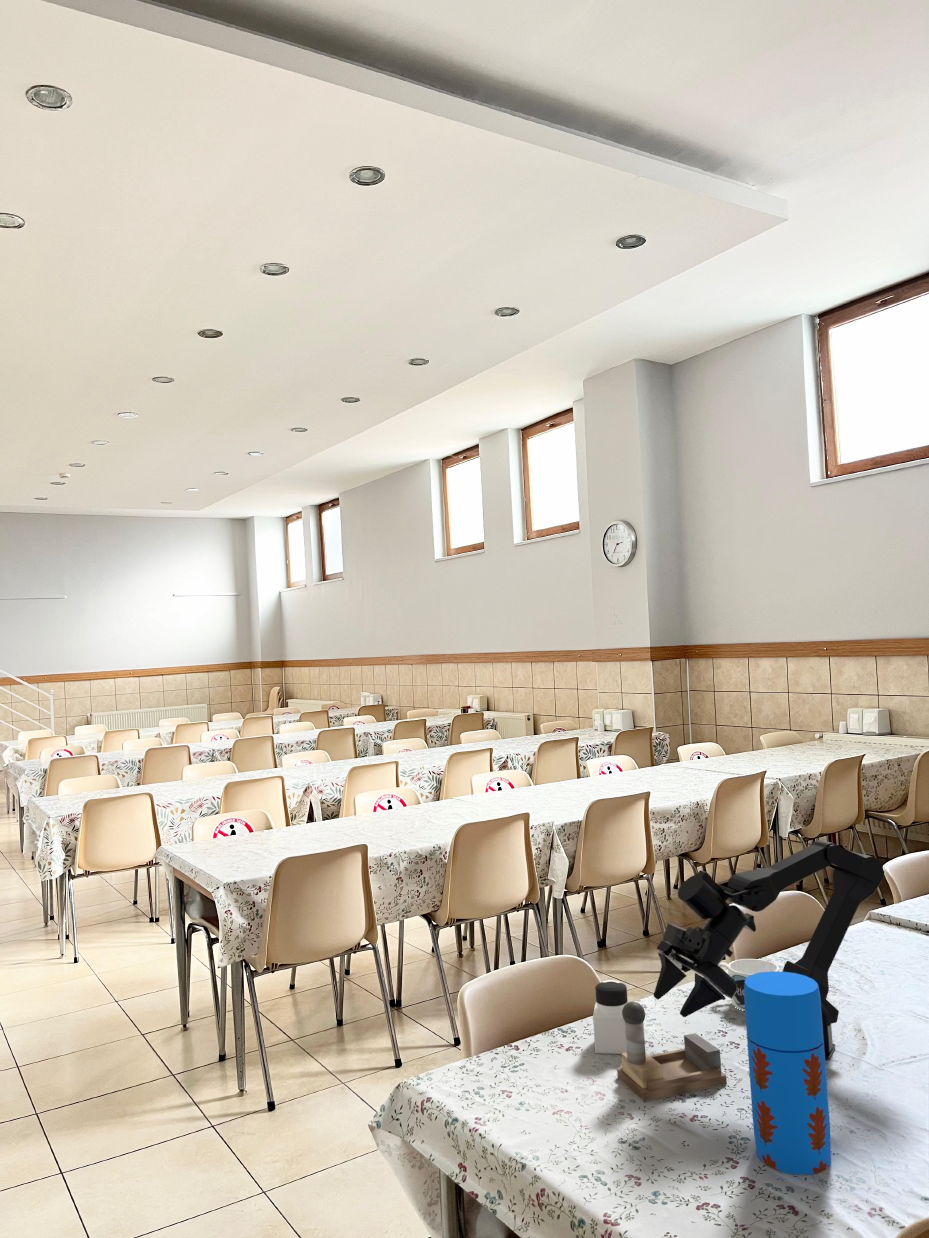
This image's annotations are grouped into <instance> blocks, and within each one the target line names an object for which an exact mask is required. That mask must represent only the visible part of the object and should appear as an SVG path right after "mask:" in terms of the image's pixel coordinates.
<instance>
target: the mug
mask: <svg viewBox="0 0 929 1238" xmlns="http://www.w3.org/2000/svg"><path fill="white" fill-rule="evenodd" d="M718 966H719V967H721V968H722V967H723V968H726V969H727V974H728V975H729V976H730V977H732V978H733V979H734V980H735V981H736V982H737V992H736V993H735V995H734V996H733V998H732V999H731V998H730V999H731V1004H732V1006H733V1005H734V1006H735V1007H736V1008H738V1009H740V1010H743V1011H745V1002H744V984H745V979H746V978H747V977H749V976H750V975H753V974H756V973H760V972H770V971H775V972H780V967H779V966H778V964H777V963H774V962H772V961H769V960H765V959H758V958H741V959H740V958H739V959H736V960H733V961H731V962H729V963H727V962H720V963H719V965H718ZM734 1006H733V1007H734ZM735 1007H734V1008H735ZM736 1008H735V1009H736ZM738 1009H737V1010H738ZM740 1010H739V1011H740ZM743 1011H742V1012H743Z"/></svg>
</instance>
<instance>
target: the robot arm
mask: <svg viewBox="0 0 929 1238" xmlns="http://www.w3.org/2000/svg"><path fill="white" fill-rule="evenodd" d="M826 868H831V869H832V870H833V873H832V881H833V883H832V884H833V891H832V893H831V896H830V898H829V900H828V902H827V904H826V907H825V909H824V910H823V913H822V915H821V917H820V919H819V921H818V923H817V926H816V927H815V930H814V931H813V934H812V935H811V938H810V940H809V942H808V945H807V947H806V949H805V950H804V952H803V955H802V956H801V957H800V959H798V960H797V961H796V962H792V961H790V960H787V961H786V962H785V963H784V965H783V969H782V971H781V972H790V973H796V974H800V975H804V976H807V977H809V978H811V979H813V980H815V981H816V982H817V984H818V987H819V992H820V999H821V1012H822V1026H823V1039H824V1052H825V1060H829V1059H830V1058H831V1057H832V1055H833V1053H834V1050H835V1049H836V1044H835V1043H833V1042H834V1041H833V1031H832V1024H836V1023H837V1022H838V1018H839V1014H840V1012H839V1011H840V1010H839V1009H837V1007H835V1006H834V1005H833V1004H832V1003H831V1002H830V1001H829V1000H828V999H827V998H828V994H829V991H830V989H829V988H830V985H829V974H828V973H829V970H830V969H831V966H832V964H833V961H834V960H835V958H836V956H837V953H838V951H839V949H840V946H841V944H842V942H843V941H844V939H845V936H846V934H847V932H848V929H849V927H850V925H851V923H852V921H853V919H854V917H855V914H856V913H857V910H858V909H859V906H860V904H861V903H863V902H865V900H867V899H868V898H870V897H871V896H873V895H874V894H875V892H876V891H877V889H878V888H879V886H880V885H881V884H882V882H883V880H884V877H885V870H884V867H883V865H882V863H881V861H880V859H878V858H876V856H875V857H874V856H871V855H867V854H863V853H860V852H857V851H851V850H848V849H846V848H843V847H841V846H839V845H837V844H836V843H834V842H830V841H825V840H820V839H819V840H816V841H813V842H812V843H811V844H810V845H809V846H807V847H805V848H803V849H801V850H798V851H797V852H795V853H793V854H791V855H789V856H787V857H786V858H783V859H781V860H779V861H777V862H775V863H774V864H772V865H769V866H767V867H764V868H760V869H751V870H745V871H743V872H738V873H736V874H733V875H732V876H731V877H729V878H728V880H726V881H722V882H720V883H717V882H716V881H715V880H714V878H713V877H712V876H711V875H710V874H709V873H708V872H707V871H704V870H701V869H700V870H699V871H698V872H697V874H694V875H691V876H690V877H688V878H687V879H686V880H684V881H682V883H681V884H680V886H679V888H678V891H677V897H678V899H679V900H680V901H681V902H683V904H685V905H686V906H687V907H688V908H689V909H690V910H691V911H692V912H693V913H694V914H695V915H696V916H697V917H698V918H700V919H701V920H707V921H706V922H705V924H704V925H703V927H700V926H695V927H691V926H689V927H687V928H686V929H685V928H683V927H680V926H677V925H675V924H672V923H669V922H667V924H666V927H665V930H664V933H663V937H662V940H661V941H660V942H659V944H658V945H657V947H656V950H657V951H658V952H657V953H658V954H657V956H658V957H659V959H660V964H661V967H660V971H659V976H658V979H657V982H656V985H655V987H654V988H655V989H654V992H653V997H654V998H655V999H656V1000H657V1001H658V1000H660V999H661V998H663V997H664V996H666V995H667V994H668V993H669V992H670V991H671V990H672V989H674V987H676V986H677V985H679V983H680V982H682V981H683V980H684V979H685V978H686V977H687V976H688V975H687V974H685V973H687V972H689V971H693V972H694V986H693V987H692V989H691V991H690V993H689V995H688V996H687V998H686V1000H685V1002H684V1004H683V1005H682V1007H681V1008H680V1011H679V1015H680V1016H682V1017H683V1018H686V1017H688V1016H690V1015H692V1014H694V1013H696V1012H698V1011H699V1010H701V1009H703V1008H706V1007H707V1006H710V1005H712V1004H715V1003H717V1002H719V1001H721V1000H723V1001H726V997H727V998H729V999H732V998H733V996H734V995H735V993H736V992H737V982H736V981H735V980H734V979H733V978H732V977H730V976H729V974H728V972H726V971H725V970H724V969H723V968H722V967H719V966H718V965H719V963H722V961H723V960H724V958H725V956H726V957H728V958H731V957H732V955H733V954H734V952H733V951H732V950H731V947H732V946H733V945H734V944H735V942H736V941H737V939H738V937H739V936H740V934H741V933H742V931H743V930H744V929H747V930H749V931H751V932H754V933H755V932H756V931H757V926H756V922H755V916H754V915H752V914H750V913H745V912H743V911H742V909H740V907H742V908H744V909H747V910H749V911H752V912H755V913H758V912H762V911H764V910H766V909H767V907H769V906H770V905H771V904H773V903H774V902H776V901H777V898H778V897H779V895H780V893H782V892H783V891H784V890H785V889H787V888H788V887H791V886H793V885H794V884H797V883H800V881H802V880H804V879H806V878H808V877H810V876H812V875H814V874H816V873H818V872H820V871H821V870H823V869H826ZM727 901H729V902H731V903H733V904H729V903H728V902H727ZM738 906H740V907H738Z"/></svg>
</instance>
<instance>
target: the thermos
mask: <svg viewBox="0 0 929 1238" xmlns="http://www.w3.org/2000/svg"><path fill="white" fill-rule="evenodd" d="M744 1002H745V1012H744V1016H745V1026H746V1041H747V1055H748V1056H747V1057H748V1058H747V1059H748V1070H749V1082H750V1083H749V1085H750V1099H751V1111H752V1112H751V1113H752V1124H753V1125H752V1126H753V1134H754V1143H755V1150H756V1154H757V1157H758V1158H759V1160H760V1161H761V1162H762V1163H763V1164H764V1165H766V1166H767V1167H770V1168H772V1169H774V1170H776V1171H778V1172H782V1173H785V1174H790V1175H798V1174H804V1176H808V1175H807V1174H809V1175H815V1173H816V1174H819V1173H821V1172H824V1171H826V1170H827V1169H828V1167H830V1166H831V1164H832V1150H831V1149H832V1147H831V1146H832V1144H831V1139H832V1138H831V1121H830V1107H829V1095H828V1093H829V1091H828V1083H827V1082H828V1081H827V1080H828V1079H827V1067H826V1059H825V1052H824V1039H823V1026H822V1012H821V999H820V992H819V987H818V984H817V982H816V981H815V980H813V979H811V978H809V977H807V976H804V975H800V974H796V973H790V972H782V971H779V972H775V971H770V972H760V973H756V974H753V975H750V976H749V977H747V978H746V979H745V984H744ZM813 1173H814V1174H813ZM805 1174H806V1175H805Z"/></svg>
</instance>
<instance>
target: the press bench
mask: <svg viewBox="0 0 929 1238" xmlns="http://www.w3.org/2000/svg"><path fill="white" fill-rule="evenodd" d="M683 1041H684V1048H680V1049H675V1050H671V1051H670V1050H669V1051H665V1052H661V1053H660V1052H659V1053H655V1054H650V1055H649V1054H648V1055H649V1056H651V1057H652V1058H653V1059H654V1060H656V1061H657V1062H658V1063H659V1064H661V1065H662V1066H663V1077H664V1079H660V1080H656V1081H651V1082H646V1083H647V1088H644V1089H643V1088H642V1087H641V1086H640V1085H638V1084H637V1083H636V1082H635V1081H634V1080H633V1079H632V1078H631V1077H629V1076H628V1075H627V1074H626V1073H625V1072H624V1071H623V1069H622V1067H619V1068H617V1069H616V1073H617V1074H616V1075H617V1079H618V1080H620V1082H622V1083H623V1084H624V1085H625V1086H626V1087H627V1088H628V1089H630V1091H632V1092H633V1093H634V1094H635V1095H636V1096H637V1097H639V1099H641V1100H642V1101H643V1102H644V1103H646V1102H651V1101H655V1100H659V1099H663V1098H664V1099H666V1098H669V1097H674V1096H678V1095H682V1094H687V1093H691V1092H692V1093H693V1092H697V1091H702V1090H705V1089H706V1090H707V1089H710V1088H711V1089H712V1088H715V1087H719V1086H720V1087H721V1086H726V1085H727V1084H728V1083H727V1082H728V1079H727V1075H726V1074H725V1073H724V1072H722V1062H721V1060H722V1059H721V1050H720V1049H719V1048H718V1047H717V1046H715V1045H714V1044H712V1043H710V1042H709V1041H708V1040H707V1039H705V1038H703V1036H702V1037H701V1036H700V1035H699V1034H697V1033H695V1032H693V1033H689V1034H685V1035H683Z"/></svg>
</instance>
